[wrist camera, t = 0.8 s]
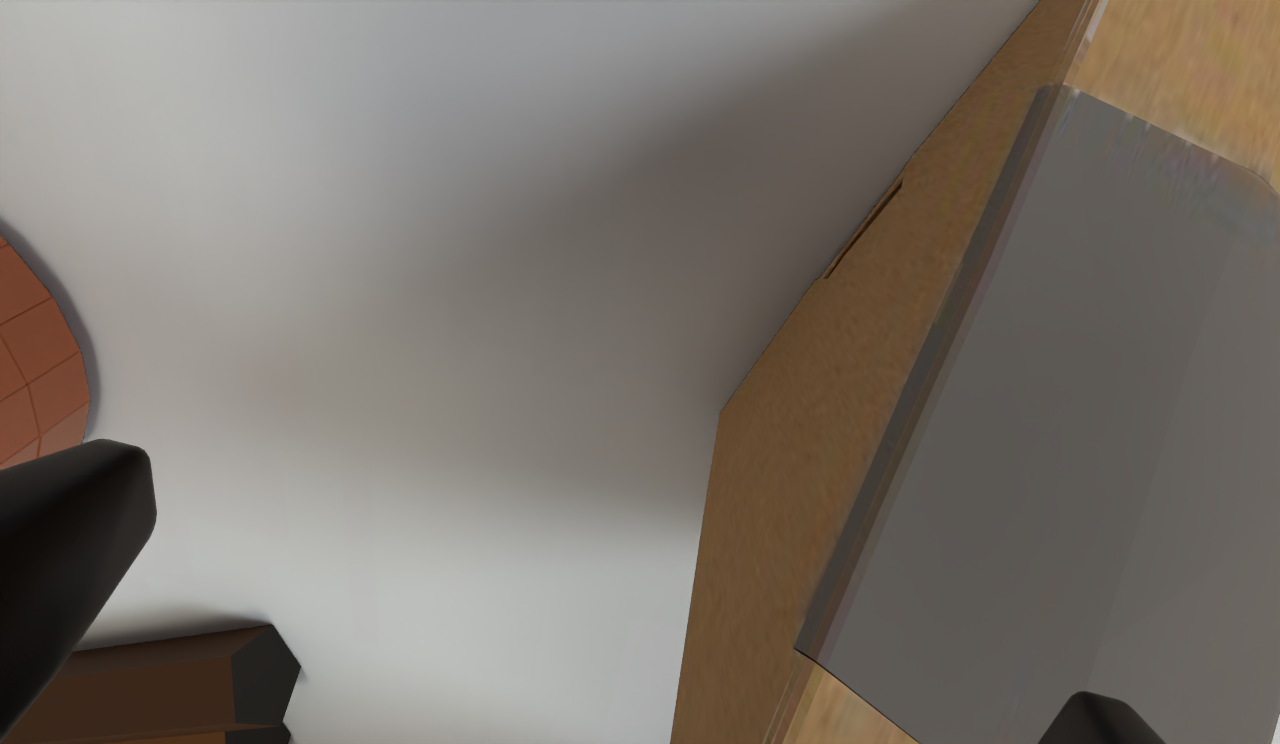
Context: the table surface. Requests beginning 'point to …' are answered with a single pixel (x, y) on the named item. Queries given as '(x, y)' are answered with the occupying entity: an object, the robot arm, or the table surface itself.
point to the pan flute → (168, 693)
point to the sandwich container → (1023, 416)
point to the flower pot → (36, 369)
